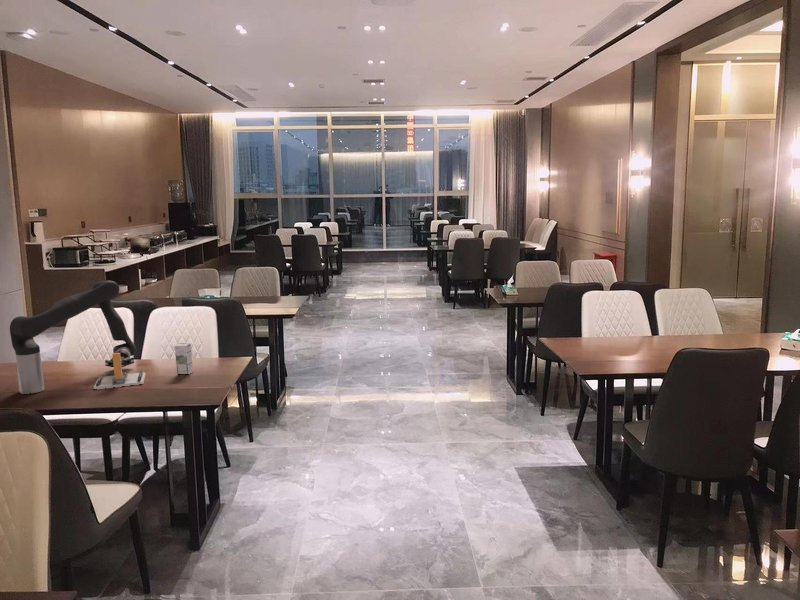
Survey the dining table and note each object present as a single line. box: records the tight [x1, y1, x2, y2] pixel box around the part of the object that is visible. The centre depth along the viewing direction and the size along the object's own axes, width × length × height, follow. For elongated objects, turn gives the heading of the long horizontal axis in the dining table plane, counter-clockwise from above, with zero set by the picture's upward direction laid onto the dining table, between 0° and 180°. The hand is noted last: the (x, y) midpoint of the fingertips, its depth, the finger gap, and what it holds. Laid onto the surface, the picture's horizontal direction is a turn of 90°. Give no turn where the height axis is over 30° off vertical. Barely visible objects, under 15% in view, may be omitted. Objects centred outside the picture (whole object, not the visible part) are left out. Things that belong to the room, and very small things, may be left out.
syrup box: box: [174, 342, 194, 375], centre depth 299 cm, size 6×6×14 cm
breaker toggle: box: [111, 353, 126, 381], centre depth 283 cm, size 5×3×12 cm, turn 108°
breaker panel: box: [93, 370, 146, 390], centre depth 289 cm, size 20×18×3 cm
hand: (117, 366), depth 284 cm, fingers closed
